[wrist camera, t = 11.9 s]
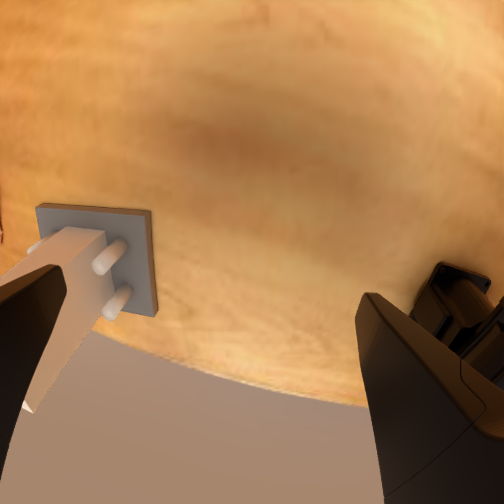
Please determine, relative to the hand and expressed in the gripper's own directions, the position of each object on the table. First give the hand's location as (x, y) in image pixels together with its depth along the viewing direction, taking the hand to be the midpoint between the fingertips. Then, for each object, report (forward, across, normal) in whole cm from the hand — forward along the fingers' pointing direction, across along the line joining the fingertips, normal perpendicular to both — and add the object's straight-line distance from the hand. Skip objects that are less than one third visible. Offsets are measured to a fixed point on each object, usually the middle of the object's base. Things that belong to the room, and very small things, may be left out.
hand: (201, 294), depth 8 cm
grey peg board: (+14, +12, +8) cm, 20 cm away
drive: (+13, +12, +8) cm, 19 cm away
